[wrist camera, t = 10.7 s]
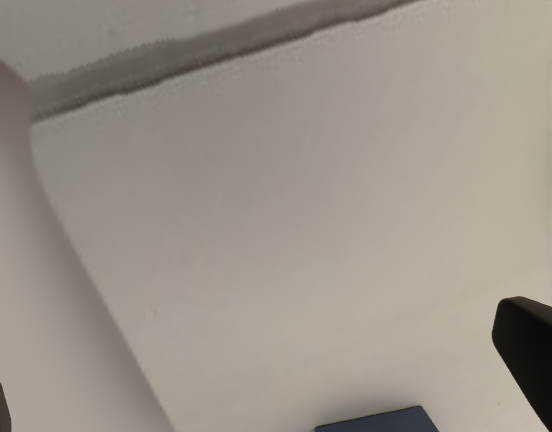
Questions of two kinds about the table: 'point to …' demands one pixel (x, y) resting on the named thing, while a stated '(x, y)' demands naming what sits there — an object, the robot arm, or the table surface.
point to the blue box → (386, 423)
